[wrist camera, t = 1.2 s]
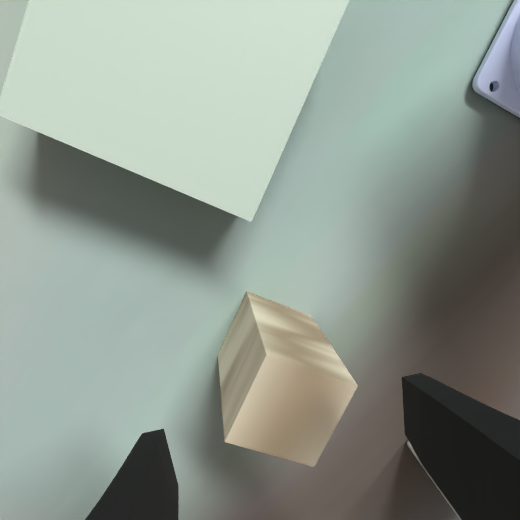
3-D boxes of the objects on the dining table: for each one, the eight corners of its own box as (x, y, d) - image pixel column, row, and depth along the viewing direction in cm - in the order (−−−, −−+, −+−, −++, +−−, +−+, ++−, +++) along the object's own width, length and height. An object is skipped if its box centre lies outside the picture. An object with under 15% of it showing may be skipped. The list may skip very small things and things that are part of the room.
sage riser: (328, 8, 19) (361, -28, 15) (242, 208, 20) (251, 222, 17) (114, -116, 16) (87, -199, 12) (39, 121, 18) (-5, 113, 14)
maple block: (311, 316, 23) (357, 386, 16) (281, 376, 23) (314, 467, 17) (246, 291, 22) (266, 354, 15) (217, 354, 22) (224, 441, 16)
